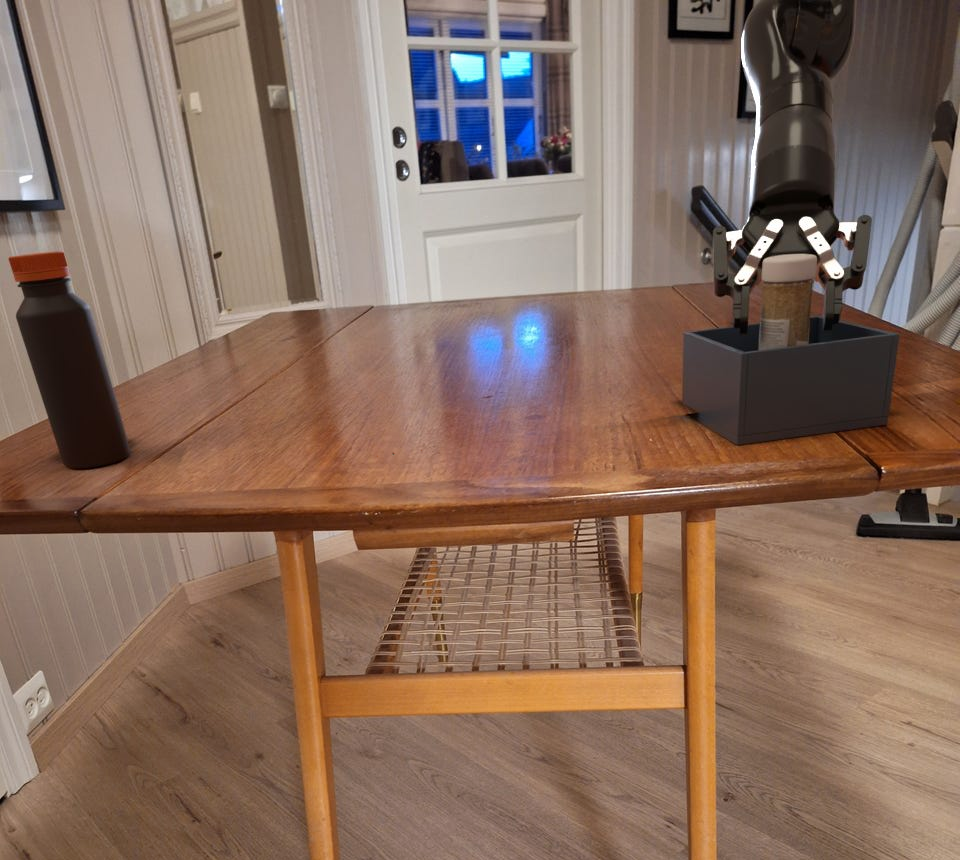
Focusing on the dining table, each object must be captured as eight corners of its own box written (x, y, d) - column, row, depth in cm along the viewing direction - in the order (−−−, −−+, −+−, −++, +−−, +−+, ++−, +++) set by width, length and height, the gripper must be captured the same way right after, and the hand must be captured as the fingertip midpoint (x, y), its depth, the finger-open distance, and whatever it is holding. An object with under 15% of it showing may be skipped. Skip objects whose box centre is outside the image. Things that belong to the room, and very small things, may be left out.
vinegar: (75, 455, 94) (12, 255, 85) (138, 448, 94) (83, 248, 85) (54, 473, 88) (-15, 260, 79) (122, 465, 88) (60, 252, 79)
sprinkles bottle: (813, 411, 81) (828, 254, 74) (768, 417, 80) (779, 260, 74) (788, 401, 85) (800, 251, 78) (744, 407, 84) (753, 257, 78)
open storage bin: (813, 395, 89) (821, 315, 85) (887, 425, 77) (900, 333, 74) (681, 412, 88) (683, 331, 84) (736, 445, 76) (741, 353, 72)
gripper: (712, 150, 80) (702, 304, 76) (881, 133, 76) (880, 294, 72) (712, 211, 87) (703, 355, 83) (867, 198, 83) (866, 348, 79)
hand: (785, 326), depth 77 cm, fingers open, 6 cm apart
